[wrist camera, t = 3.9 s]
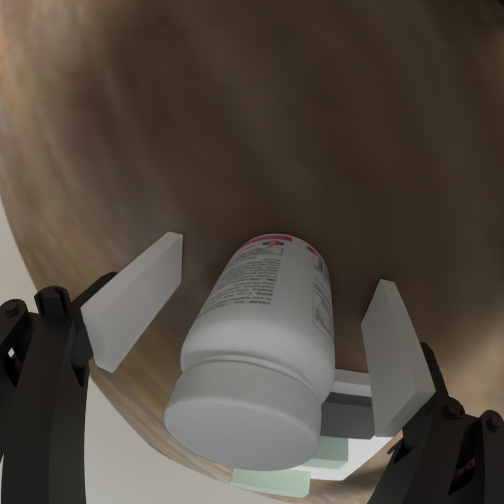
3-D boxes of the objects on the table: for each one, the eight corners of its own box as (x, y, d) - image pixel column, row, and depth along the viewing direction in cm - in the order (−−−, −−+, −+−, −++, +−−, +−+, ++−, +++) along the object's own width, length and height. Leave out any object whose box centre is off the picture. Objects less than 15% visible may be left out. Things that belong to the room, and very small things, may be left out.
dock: (234, 347, 16) (217, 393, 13) (432, 379, 14) (443, 421, 11) (216, 452, 23) (207, 480, 20) (342, 472, 21) (340, 500, 18)
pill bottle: (217, 298, 14) (143, 439, 7) (246, 214, 12) (151, 351, 5) (303, 331, 14) (285, 485, 7) (347, 255, 12) (376, 425, 5)
